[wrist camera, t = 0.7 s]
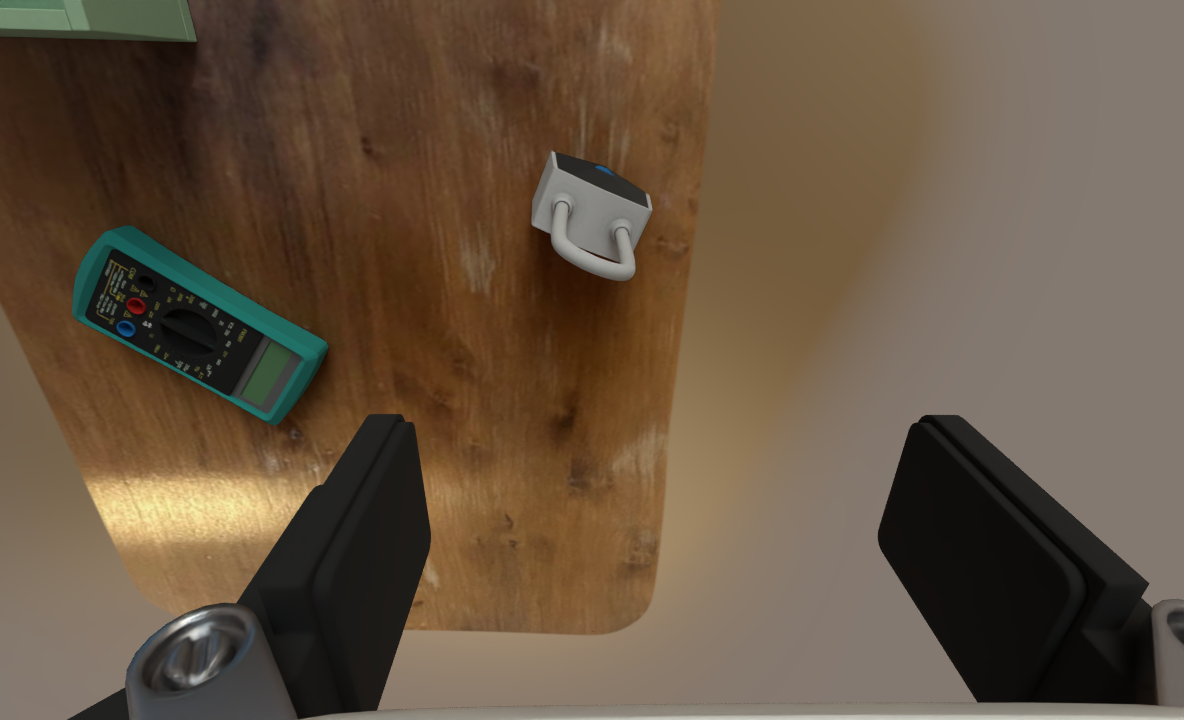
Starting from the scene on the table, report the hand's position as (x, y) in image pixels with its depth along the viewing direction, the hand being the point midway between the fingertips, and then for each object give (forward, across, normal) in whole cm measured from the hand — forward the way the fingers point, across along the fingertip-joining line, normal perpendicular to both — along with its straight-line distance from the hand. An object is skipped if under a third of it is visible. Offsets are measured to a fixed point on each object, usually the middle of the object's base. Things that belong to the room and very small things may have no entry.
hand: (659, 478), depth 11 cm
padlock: (+28, +1, 0) cm, 29 cm away
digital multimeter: (+28, +27, +9) cm, 40 cm away
